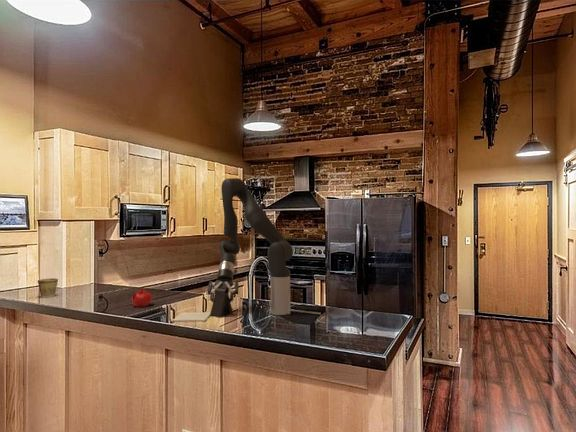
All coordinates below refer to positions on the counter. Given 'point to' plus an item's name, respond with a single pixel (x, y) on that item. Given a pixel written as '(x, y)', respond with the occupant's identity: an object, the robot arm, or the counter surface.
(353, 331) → the counter surface
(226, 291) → the phone stand
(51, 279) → the ceramic cup
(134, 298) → the pomegranate
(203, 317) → the board
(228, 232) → the robot arm
